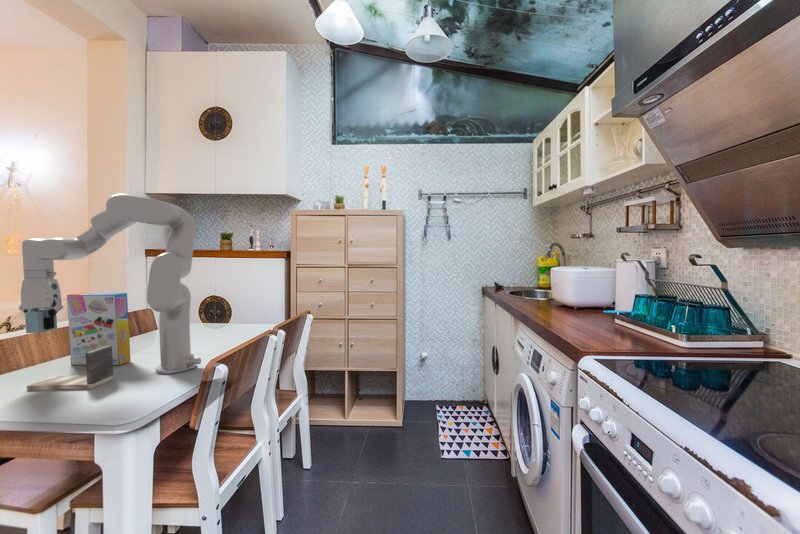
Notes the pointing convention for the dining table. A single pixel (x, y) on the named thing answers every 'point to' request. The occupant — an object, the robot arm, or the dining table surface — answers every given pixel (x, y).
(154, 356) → the dining table surface
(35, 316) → the pale blue upright box
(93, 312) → the game box
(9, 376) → the dining table surface
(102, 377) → the wooden bookend
